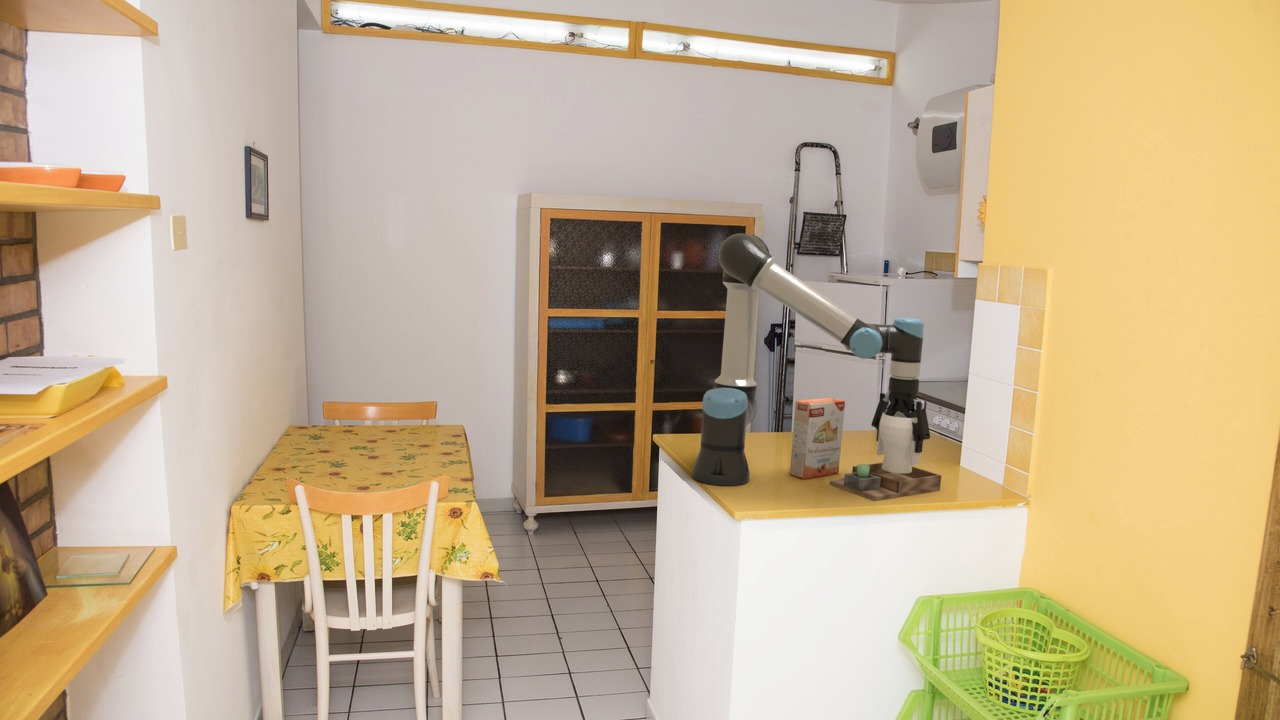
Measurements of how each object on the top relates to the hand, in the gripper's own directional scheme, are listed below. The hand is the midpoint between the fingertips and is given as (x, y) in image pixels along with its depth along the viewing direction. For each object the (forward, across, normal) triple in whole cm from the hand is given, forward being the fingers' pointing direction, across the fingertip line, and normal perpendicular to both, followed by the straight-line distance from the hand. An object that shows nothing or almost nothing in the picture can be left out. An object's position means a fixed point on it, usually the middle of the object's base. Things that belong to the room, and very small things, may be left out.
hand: (897, 459), depth 225 cm
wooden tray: (+7, 0, +4) cm, 8 cm away
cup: (+3, 0, 0) cm, 3 cm away
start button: (+4, 0, +12) cm, 13 cm away
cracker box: (+7, +17, +13) cm, 23 cm away
